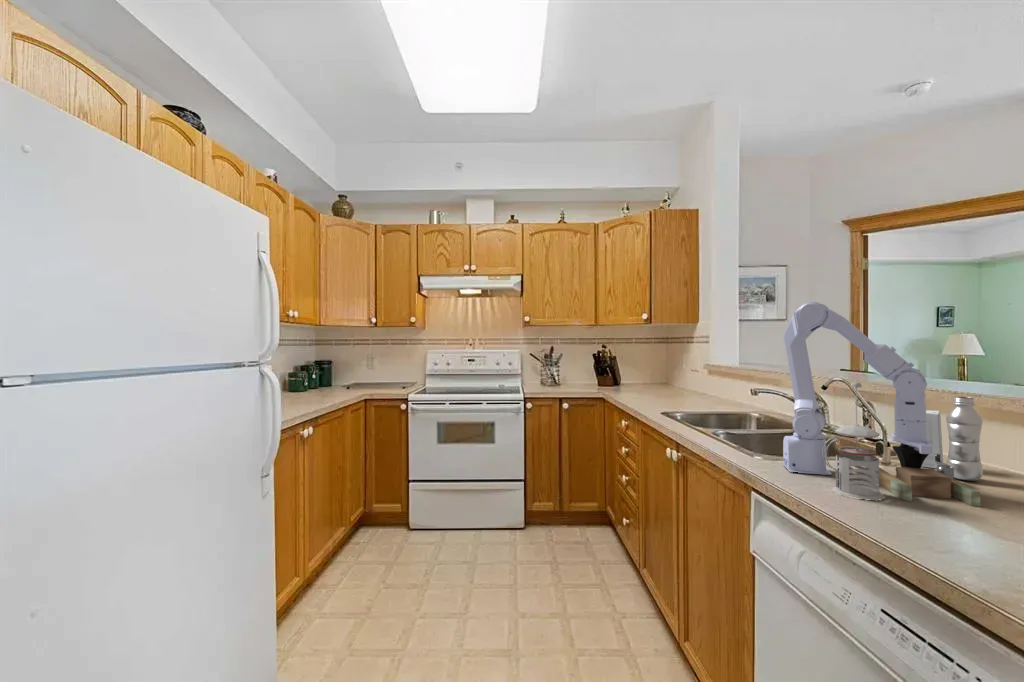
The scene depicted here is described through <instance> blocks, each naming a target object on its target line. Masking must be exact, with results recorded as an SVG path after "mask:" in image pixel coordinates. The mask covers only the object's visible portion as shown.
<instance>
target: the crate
mask: <svg viewBox="0 0 1024 682" xmlns="http://www.w3.org/2000/svg"><path fill="white" fill-rule="evenodd" d="M895 472H896V473H895V475H896V478H898V479H899V480H901V481H903V482H904V483H906V484H908V485H909V486H911V487H912V497H913V496H914V497H925V496H927V498H928V497H929V498H938V499H939V498H941V499H951V498H952V495H951V482H952V479H951V477H948V476H946V475H944V474H942V473H940V472H938V471H937V469H935V468H926V467H923V468H922V467H921V468H909V467H901V466H896V467H895Z"/></svg>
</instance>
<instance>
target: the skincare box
mask: <svg viewBox="0 0 1024 682" xmlns="http://www.w3.org/2000/svg"><path fill="white" fill-rule="evenodd" d="M926 438H927V439H930V440H933V443H929V444H930V445H931V446H932V454H929V455H928V456H927V457H926V459H925V460H924V462H923V464H922V466H921V468H922V467H923V468H928V469H935V470H937V465H938V464H936V463H935V454H940V461H941V462H943V463H944V453H943V452H944V451H943V439H942V438H943V437H942V420H941V411H940V410H930V409H929V410H927V409H926Z"/></svg>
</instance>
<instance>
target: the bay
mask: <svg viewBox="0 0 1024 682" xmlns="http://www.w3.org/2000/svg"><path fill="white" fill-rule="evenodd" d="M946 476H947V475H946ZM948 477H949V476H948ZM951 479H952V482H951V497H952V496H953V497H954V498H956V499H958V500H960V501H962V502H963V503H965V504H966V505H969V506H971V507H981V491H979V490H977V489H975V488H973V487H972V486H971V487H970V486H969V485H967V484H964V482H963V483H962V482H961V481H958V479H957V480H956V478H954V479H953V478H951ZM879 486H881V487H883V488H885V489H886V490H887V491H889V492H890V493H892V494H893V495H894V496H896V497H897V498H899V499H900V500H901V501H903V500H906V501H905V502H913V496H912V487H911V486H909V485H908V484H906V483H904V482H903V481H901V480H899V479H898V478H896V474H891V473H889V472H888V471H886V470H884V469H883V468H881V467H879Z"/></svg>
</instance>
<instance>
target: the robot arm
mask: <svg viewBox="0 0 1024 682" xmlns="http://www.w3.org/2000/svg"><path fill="white" fill-rule="evenodd" d="M821 327H822V328H823V329H828V330H832V331H836V332H837V333H838V334H840V335H841V336H842V337H843V338H845V339H846V340H847V341H849V342H850V343H851V344H852V345H854V346H855V348H857V349H859V350H860V351H861V352H862V353H863V354H864V357H863V360H864V362H865V363H867V364H868V365H869V366H870V367H871V368H873V369H874V370H875V371H876V373H879V374H880V375H881V376H882V377H883V378H885V380H890V381H892V385H893V388H895V399H894V407H893V409H894V411H893V412H894V413H893V414H894V432H891V433H890V436H891V437H890V440H891V441H892V442H895V443H898V444H899V445H892V449H893V451H894V452H895V454H896V456H897V458H898V461H899V464H900V467H909V468H922V467H921V466H922V464H923V462H924V460H925V459H926V457H927V456H928V455H929V454H932V446H931V445H930V444H929V443H933V440H930V439H927V438H926V410H927V401H926V400H925V399H926V392H925V390H926V388H927V386H928V382H927V379H926V377H925V375H924V374H923V373H922V372H921V371H920V370H919V369H917V368H913V367H915V364H914V363H912V362H908V361H906V360H905V359H904V358H903V357H902V356H901V355H900V354H898V353H897V352H896V351H897V349H896V348H895V347H893V346H890V347H889V346H888V345H887V344H882V343H881V344H876V343H875V342H873V340H871V339H870V338H869V337H868V336H866V335H865V334H864V333H863V332H862V331H861V330H859V329H858V328H857V327H856V326H855V325H854V324H852V323H851V321H849V320H848V319H847V318H846V317H844V316H843V315H842V314H840V313H838V312H836V311H835V310H832V309H831V308H829V307H828V306H826V304H823V303H821V302H818V301H807V302H804V303H803V304H802V305H800V306H799V307H798V308H797V309H795V311H794V312H792V317H791V318H790V321H789V323H788V325H787V327H786V329H785V331H784V333H783V341H784V346H785V351H786V352H785V353H786V357H787V362H788V363H787V364H788V368H789V370H788V371H789V376H790V380H791V381H790V382H791V387H792V392H793V398H794V399H793V400H794V406H793V407H794V408H793V411H794V418H793V420H792V429H793V430H794V432H793V435H785V436H783V441H782V443H783V444H782V445H783V446H782V449H783V450H782V455H783V463H782V465H783V467H784V468H785V467H786V468H787V469H788V470H789V471H790V472H789V471H788V470H787V469H786V468H785V469H786V470H787V471H788V472H789V473H793V472H798V473H797V474H809V475H810V474H811V475H812V474H813V475H823V476H825V475H827V476H828V475H829V476H832V474H833V473H832V472H831V471H830V470H829V469H827V465H826V464H825V462H824V460H823V457H822V448H823V446H824V444H825V442H826V441H827V439H826V438H827V436H826V434H824V433H823V431H822V430H823V429H825V426H826V423H827V419H826V417H825V416H824V414H823V413H822V412H821V410H820V406H819V402H818V400H817V397H816V392H815V386H814V381H813V374H812V370H811V369H812V368H811V363H810V359H809V357H810V356H809V352H808V347H807V341H806V340H807V339H808V338H809V337H810V336H811V335H812V334H813V333H814V332H815V331H816V330H818V329H820V328H821ZM826 449H827V444H826V445H825V447H824V450H823V451H824V459H825V461H826V454H825V452H826ZM826 462H827V461H826Z"/></svg>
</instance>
